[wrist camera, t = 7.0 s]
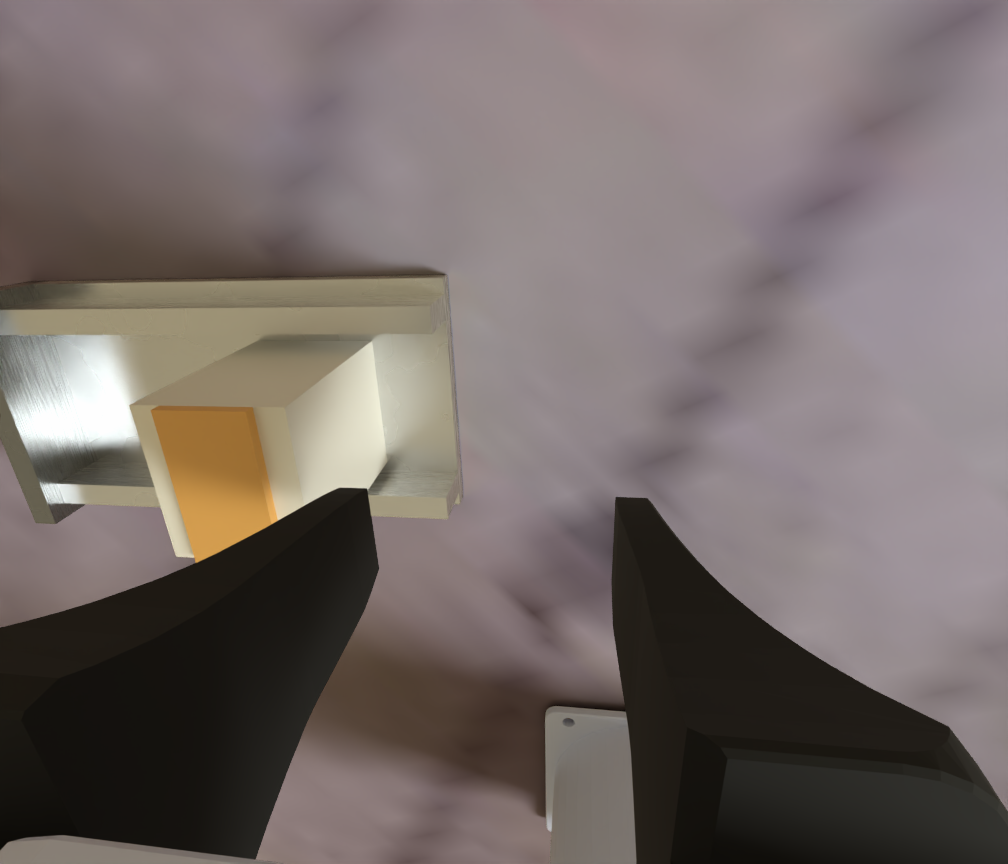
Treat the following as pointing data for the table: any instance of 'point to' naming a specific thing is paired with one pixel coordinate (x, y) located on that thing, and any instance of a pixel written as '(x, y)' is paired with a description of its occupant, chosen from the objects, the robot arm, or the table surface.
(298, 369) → the block
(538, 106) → the table surface
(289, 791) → the table surface
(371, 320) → the grey piece
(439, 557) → the table surface
